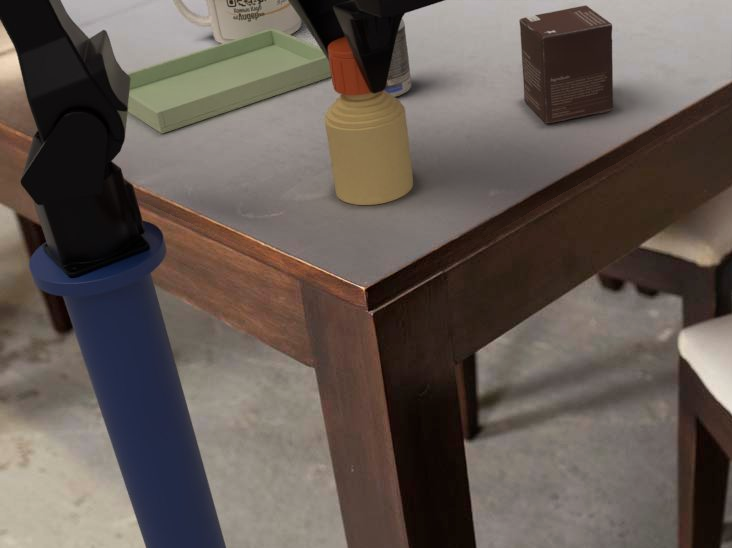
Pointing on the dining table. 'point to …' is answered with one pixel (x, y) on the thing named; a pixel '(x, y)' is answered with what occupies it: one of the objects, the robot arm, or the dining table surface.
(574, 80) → the box
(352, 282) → the dining table surface
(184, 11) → the mug
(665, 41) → the dining table surface
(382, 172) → the bottle
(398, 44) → the pill bottle
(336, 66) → the cap
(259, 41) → the tray
